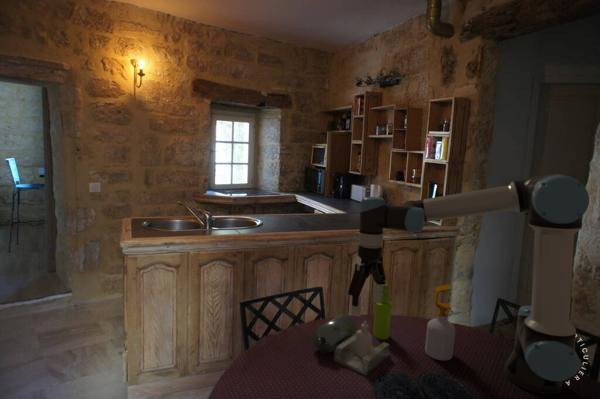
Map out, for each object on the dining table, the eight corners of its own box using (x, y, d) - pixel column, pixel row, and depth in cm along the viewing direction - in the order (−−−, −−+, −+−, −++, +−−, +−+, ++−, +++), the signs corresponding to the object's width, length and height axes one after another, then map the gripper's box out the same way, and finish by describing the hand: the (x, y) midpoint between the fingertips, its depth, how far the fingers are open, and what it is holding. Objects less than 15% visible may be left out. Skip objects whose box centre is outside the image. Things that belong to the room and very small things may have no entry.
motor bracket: (389, 355, 126) (391, 330, 125) (362, 378, 112) (364, 351, 111) (336, 332, 140) (337, 310, 139) (306, 351, 126) (307, 326, 125)
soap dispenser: (367, 332, 141) (371, 282, 138) (383, 330, 143) (387, 281, 140) (375, 340, 136) (379, 288, 133) (391, 338, 138) (396, 286, 135)
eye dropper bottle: (366, 350, 127) (368, 317, 125) (372, 359, 121) (374, 325, 119) (353, 350, 126) (356, 317, 124) (359, 360, 120) (361, 325, 119)
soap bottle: (455, 363, 123) (462, 292, 120) (426, 358, 125) (433, 289, 122) (449, 349, 132) (456, 283, 129) (423, 345, 134) (429, 280, 130)
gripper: (378, 237, 130) (375, 294, 133) (338, 250, 111) (335, 317, 114) (398, 240, 126) (394, 300, 128) (360, 255, 107) (356, 325, 109)
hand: (366, 308), depth 121 cm, fingers open, 13 cm apart
